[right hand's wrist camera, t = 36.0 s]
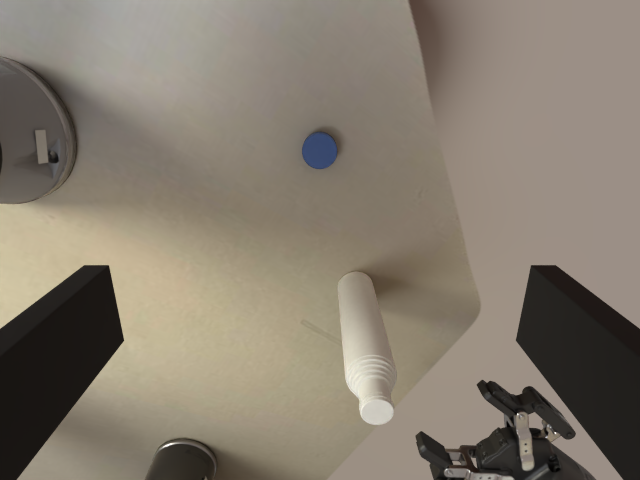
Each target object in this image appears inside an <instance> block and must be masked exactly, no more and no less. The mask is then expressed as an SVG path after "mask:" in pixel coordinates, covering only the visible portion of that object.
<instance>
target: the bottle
mask: <svg viewBox="0 0 640 480" xmlns="http://www.w3.org/2000/svg"><path fill="white" fill-rule="evenodd" d="M338 298H339V309H340V321H341V332H342V344H343V355H344V367H345V378H346V382H347V384H348V387H349V389H350V390H351V391H352V392H353V393H354V394H355V395H356V396H357V397H358V398H359V400H360V404H359V409H360V415H361V417H362V418H363V419H364V421H366V422H367V423H369V424H373V425H381V424H384V423H386V422H388V421H389V420H390V419H391V418H392V416H393V413H394V404H393V402H392V400H391V396H390V394H391V392H392V390H393V388H394V386H395V383H396V377H397V372H396V368H395V364H394V360H393V357H392V353H391V349H390V346H389V342H388V338H387V334H386V331H385V327H384V323H383V320H382V316H381V312H380V308H379V305H378V301H377V297H376V293H375V290H374V286H373V282H372V280H371V279H370V277H369V276H368V275H366V274H364V273H362V272H357V271H356V272H350V273H347V274H346V275H344V276H343V277H342V278H341V279H340V281H339V283H338Z"/></svg>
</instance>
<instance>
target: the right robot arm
mask: <svg viewBox="0 0 640 480" xmlns="http://www.w3.org/2000/svg"><path fill="white" fill-rule="evenodd" d="M75 156H76V137H75V132H74V127H73V124H72V121H71V118H70V116H69V114H68V111H67V109H66V107H65V106H64V104H63V102H62V101H61V99H60V98H59V96H58V95H57V94H56V92H55V91H54V90H53V89H52V88H51V87H50V86H49V85H48V83H47V82H45V81H44V80H43V79H42V78H41V77H40V76H39V75H37V74H36V73H35V72H33V71H32V70H30V69H29V68H27V67H25V66H24V65H22V64H20V63H18V62H15V61H13V60H10V59H7V58H4V57H0V204H20V203H26V202H30V201H33V200H36V199H38V198H41V197H43V196H46V195H48V194H50V193H52V192H53V191H55V190H56V189H57V188H59V187H60V186H61V185H62V184H63V183H64V181H65V180H66V179H67V177H68V176H69V174H70V172H71V170H72V167H73V165H74V161H75ZM123 341H124V338H123V333H122V328H121V323H120V318H119V313H118V308H117V303H116V298H115V293H114V288H113V283H112V278H111V273H110V269H109V265H84V266H83V267H81V268H80V269H79V270H77V271H76V272H75V273H74V274H72V275H71V276H70V277H68V278H67V279H66V280H64V281H63V282H62V283H60V284H59V285H58V286H56V287H55V288H54V289H52V290H51V291H50V292H48V293H47V294H46V295H44V296H43V297H42V298H40V299H39V300H38V301H37V302H35V303H34V304H33V305H31V306H30V307H29V308H27V309H26V310H25V311H23V312H22V313H21V314H19V315H18V316H17V317H15V318H14V319H13V320H11V321H10V322H9V323H7V324H6V325H5V326H3V327H2V328H1V329H0V480H17V478H18V477H19V476H20V475H21V473H22V472H23V471H24V469H25V468H26V467H27V466H28V464H29V463H30V462H31V460H32V459H33V458H34V456H35V455H36V454H37V453H38V451H39V450H40V449H41V447H42V446H43V445H44V444H45V442H46V441H47V440H48V438H49V437H50V436H51V434H52V433H53V432H54V431H55V429H56V428H57V427H58V425H59V424H60V423H61V422H62V420H63V419H64V418H65V416H66V415H67V414H68V412H69V411H70V410H71V409H72V407H73V406H74V405H75V403H76V402H77V401H78V400H79V398H80V397H81V396H82V394H83V393H84V392H85V390H86V389H87V388H88V387H89V385H90V384H91V383H92V381H93V380H94V379H95V378H96V376H97V375H98V374H99V372H100V371H101V370H102V368H103V367H104V366H105V365H106V363H107V362H108V361H109V359H110V358H111V357H112V356H113V354H114V353H115V352H116V350H117V349H118V348H119V346H120V345H121V344H122V343H123ZM516 341H517V343H518V344H519V345H520V346H521V348H522V349H523V350H524V351H525V353H526V354H527V356H528V357H529V358H530V359H531V361H532V362H533V363H534V364H535V366H536V367H537V368H538V370H539V371H540V372H541V374H542V375H543V376H544V378H545V379H546V380H547V381H548V383H549V384H550V385H551V387H552V388H553V389H554V390H555V392H556V393H557V394H558V396H559V397H560V398H561V400H562V401H563V402H564V403H565V405H566V406H567V407H568V409H569V410H570V411H571V412H572V414H573V415H574V416H575V418H576V419H577V420H578V422H579V423H580V424H581V425H582V427H583V428H584V429H585V431H586V432H587V433H588V434H589V436H590V437H591V438H592V440H593V441H594V442H595V444H596V445H597V446H598V447H599V449H600V450H601V451H602V453H603V454H604V455H605V456H606V458H607V459H608V460H609V462H610V463H611V464H612V466H613V467H614V468H615V469H616V471H617V472H618V473H619V475H620V476H621V477H622V478H623V480H640V329H639V328H638V327H637V326H635V325H634V324H633V323H631V322H630V321H629V320H627V319H626V318H625V317H623V316H622V315H621V314H619V313H618V312H617V311H615V310H614V309H613V308H611V307H610V306H609V305H607V304H606V303H605V302H603V301H602V300H601V299H600V298H598V297H597V296H596V295H594V294H593V293H592V292H590V291H589V290H588V289H586V288H585V287H584V286H582V285H581V284H580V283H578V282H577V281H576V280H574V279H573V278H572V277H570V276H569V275H568V274H566V273H565V272H564V271H562V270H561V269H560V268H559V267H557V266H556V265H531V269H530V274H529V279H528V283H527V288H526V294H525V298H524V303H523V308H522V313H521V318H520V323H519V328H518V333H517V338H516Z"/></svg>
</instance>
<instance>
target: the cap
mask: <svg viewBox="0 0 640 480" xmlns="http://www.w3.org/2000/svg"><path fill="white" fill-rule="evenodd" d="M302 154H303V158H304V160H305V162H306V163H307V164H308V165H309V166H311V167H313V168H316V169H324V168H327V167H329V166H330V165H331V164H332V163H333V162H334V161H335V159H336V156H337V146H336V143H335V141H334V139H333V138H332V137H331V136H330V135H329V134H327V133H324V132H315V133H312V134H311V135H309V136H308V137H307V138H306V140H305V142H304V144H303V148H302Z"/></svg>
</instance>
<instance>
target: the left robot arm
mask: <svg viewBox="0 0 640 480" xmlns="http://www.w3.org/2000/svg"><path fill="white" fill-rule="evenodd" d="M477 386H478V388H479V390H480V392H481V394H482V396H483V397H484V398H485V399H486V400H487V401H488V402H489V403H491V404H492V405H493V406H495V407H496V408H497V409H499V410H500V411H501V412H503V413H504V421H505V428H501V429H500V428H497V429H496V430H495V431H493V432H492V434H491V435H490V436H489V437H488V438H486V439H484V440H482V441H480V442H479V443H478V444H477V446H469V445H462V446H460V448H459V449H445V448H444V446H443V445H441V444H440V443H438V442H437V441H435V440H434V439H432V438H431V437H429V436H428V435H426V434H425V433H423V432H422V431H421V432H419V433H418V434H417V435H416V440H417V442H416V443H417V446H418V450H419V453H420V455H421V457H422V458H424V459H426V460H427V461H429V462H430V469H431V472H432V475H433V478H434V480H596V479H595V478H594V477H593V476H592V475H591V474H590V473H589V472H588V471H587V470H586V469H585V468H583V467H582V466H581V465H579V464H578V463H577V462H575V461H574V460H573V459H572V458H570V457H569V456H567V455H566V454H565V453H563V452H562V451H561V450H559V449H558V448H557V447H556V446H554V445H553V444H552V443H551V442H552V441H554V440H555V439H557V438H558V437H560V436H562V437H563V438H565V439H572V438H573V437H575V434H576V433H575V431H574V430H573V429H572V427H571V426H570V424H569V423H568V422H567V420H566V419H565V418H564V416H563V415H562V414H561V413H560V412H559V411H558V410H557V409H556V408H555V407H554V406H553V405H552V404H551V403H550V402H548V401H547V400H546V399H545V398H544V397H543V396H542V395H541V394H540V393H539V392H538V391H536V390H535V389H534V388H533V387H531V386H528V387H525V388H524V389H523V391H522V394H520V395H516V396H515V395H513V394H510V393H508V392H507V391H506V390H505V389H503V388H502V387H501V386H499V385H498V384H497V383H495V382H492V381H489V382H488V383H486V382H485V381H484V380H481V381H480V382H479V383H478V384H477ZM533 412H536V413H537V414H538V415H539V416H540V417H541V418H542V419H543V420H542V424H543V426H544V427H543V429H542V430H540V429H537V428H529V419H528V414H531V413H533ZM471 458H476V462H477V468H476V467H475V466H474V465H473V462H472V460H471ZM452 461H459V462H460V463H461V465H453V463H452ZM216 469H217V461H216V458H215V456H214V454H213V453H212V451H211V450H210V449H209V448H207V447H206V446H204V445H203V444H201V443H199V442H196V441H193V440H188V439H176V440H172V441H169V442H166V443H164V444H163V445H161V446H160V447H159V448H158V450H157V451H156V453H155V455H154V458H153V462H152V464H151V466H150V468H149V470H148V473H147V475H146V477H145V479H144V480H213V478H214V476H215V473H216Z"/></svg>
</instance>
